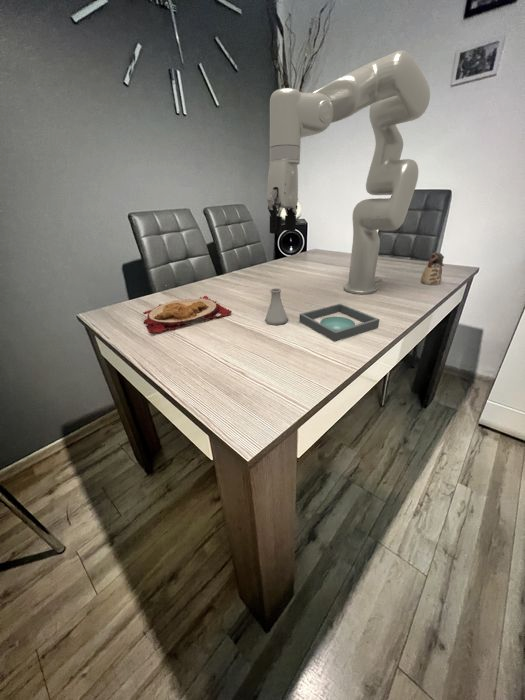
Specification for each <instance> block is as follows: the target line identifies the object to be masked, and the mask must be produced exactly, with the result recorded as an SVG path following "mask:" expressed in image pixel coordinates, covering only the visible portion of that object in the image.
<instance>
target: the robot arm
mask: <svg viewBox="0 0 525 700" xmlns="http://www.w3.org/2000/svg"><path fill="white" fill-rule="evenodd" d="M430 90H431V89H430V86H429V83H428V80H427V78H426V77H425V75H424V73H423V72H422V70H421V68H420V67H419V65H418V63H417V62H416V61H415V59H414V57H413V56H412V55H411V54H410V53H409V52H407V51H405V50H401V49H400V50H397V51H394V52H393V53H390V54H388V55H385V56H383V57H381V58H379V59H376V60H373V61H371V62H369V63H367V64H365V65H362V66H361V67H358V68H356V69H355V70H353V71H350V72H348V73H347V74H345V75H342V76H340V77H338V78H337V79H334V80H333V81H330V82H329V83H327V84H326V85H324V86H323V87H320V88H319V89H317V90H315V91H313V92H301V91H299V89H296V88H292V87H284V88H283V87H282V88H279V89H276V90H275V91H272V94H271V95H270V98H269V166H268V167H269V168H268V175H267V189H266V192H267V193H266V194H267V196H266V204H267V210H268V217H269V233H270V234H275V235H276V234H277V235H278V234H279V235H280V234H282V228H283V227H282V224H283V223H282V222H283V221H282V219H283V217H282V216H281V214H282V212H283V209H284V211H285V214H286V215H284V231H285V232H286V231H287V232H289V231H291V232H295V231H296V228H297V214H298V213H297V210H298V202H299V197H298V196H299V193H298V192H299V171H298V170H299V169H298V166H299V165H300V164H301V162H300V161H301V143H302V142H301V139H303V138H306V137H311V136H314V135H317V134H320V133H323V132H325V131H326V130H327V129H328V128H329V127H330V125H331V124H333V123H336V122H340V121H342V120H346V119H347V118H349V117H352V116H353V115H354V114H357V113H358V112H360V111H362V110H364V109H365V108H367V107H369V106H370V107H369V111H368V112H369V121H370V124H371V128H372V131H373V135H374V139H375V146H374V153H373V156H372V160H371V163H370V167H369V170H368V174H367V178H366V182H365V191H366V192H367V193H368V194H369V195H371V196H391V197H389V198H385V197H384V198H381V197H380V198H365V199H363V200H361V201H359V202H358V203H357V204H356V205H355V207H354V208H353V210H352V231H353V232H352V233H353V235H352V245H351V256H350V264H349V272H348V283H346V284H344V285H343V290H344V292H347V293H350V294H357V295H368V294H373V293H376V292H377V291H378V286H377V285H376V284H377V283H380V282H382V281H383V277H381V276H378V277H376V269H377V265H378V259H379V258H378V257H379V253H380V252H379V251H380V245H381V240H380V235H379V232H378V231H395V230H398V229H399V228H400V227H401V226H402V225H403V223H404V221H405V219H406V216H407V215H408V211H409V208H410V205H411V202H412V199H413V196H414V194H415V193H414V192H415V189H416V187H417V183H418V178H419V165H418V164H417V162H416V161H415V160H413V159H410V158H405V159H401V156H402V153H403V150H404V141H403V140H404V139H403V138H402V134H401V132H400V131H399V128H398V127H397V125H398V124H404V123H408V122H412V121H416V120H417V119H418V120H419V118H421V117H422V116H423V115H424V114H425V113H426V111H427V109H428V106H429V104H430V99H431V91H430ZM377 230H378V231H377Z"/></svg>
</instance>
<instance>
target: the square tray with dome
mask: <svg viewBox="0 0 525 700" xmlns="http://www.w3.org/2000/svg"><path fill="white" fill-rule="evenodd" d="M337 313H341V314H343V315H345V316H348V317H349V318H348V317H345V316H344V317H343V316H329V315H333V314H337ZM325 316H328V317H325ZM321 317H325V318H323V319H321V320H320V321H317V320H315V319H319V318H321ZM351 318H352V319H354V320H357V321H359V322H360V323H359V324H356V323H355V321H354V320H352V319H351ZM298 320H299V323H301V324H302V325H304V326H306V327H308V328H310V329H312V330H313V331H315V332H317V333H319V334H320V335H322V336H324V337H325V338H327V339H329V340H331V341H332V342H339V341H341V340H345V339H347V338H350V337H353V336H357V335H360V334H362V333H366V332H368V331H372V330H375V329H377V328H379V325H380V318H377V317H375V316H373V315H370V314H368V313H365V312H362V311H361V310H358V309H356V308H355V309H354V308H352V307H350V306H348V305H344V304H342V303H336V304H333V305H329V306H325V307H322V308H318V309H313V310H310V311H306V312H303V313H299V319H298Z"/></svg>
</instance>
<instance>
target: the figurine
mask: <svg viewBox="0 0 525 700" xmlns="http://www.w3.org/2000/svg"><path fill="white" fill-rule="evenodd" d="M431 256H432V257H431V258H429V260H428V263H427V265H426V267H425V268H424V271H423V272H422V275H421V278H420V282H422V283H421V284H423V283H424V284H423V285H426V284H430V285H429V286H438V285H437V284H439V285H440V284H441V281H442V276H443V275H442V272H443V268H442V267H444V265H445V264H444V262H443V261H444V258H445V256H444V255H443V254H442V253H441V252H433V253H431Z"/></svg>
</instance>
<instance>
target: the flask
mask: <svg viewBox="0 0 525 700" xmlns="http://www.w3.org/2000/svg"><path fill="white" fill-rule="evenodd" d="M269 290H270V293H271V298H270V303H269V305H268V310H267V313H266V316H265V319H264V321H265V323H266V324H267V325H273V326H274V325H275V326H279V325H284V324H286V323H288V321H289V318H288V316H287V314H286V310H285V308H284V305H283V303H282V298H281V292H282V289H281V288H277V287H274V288H271V289H269Z"/></svg>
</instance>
